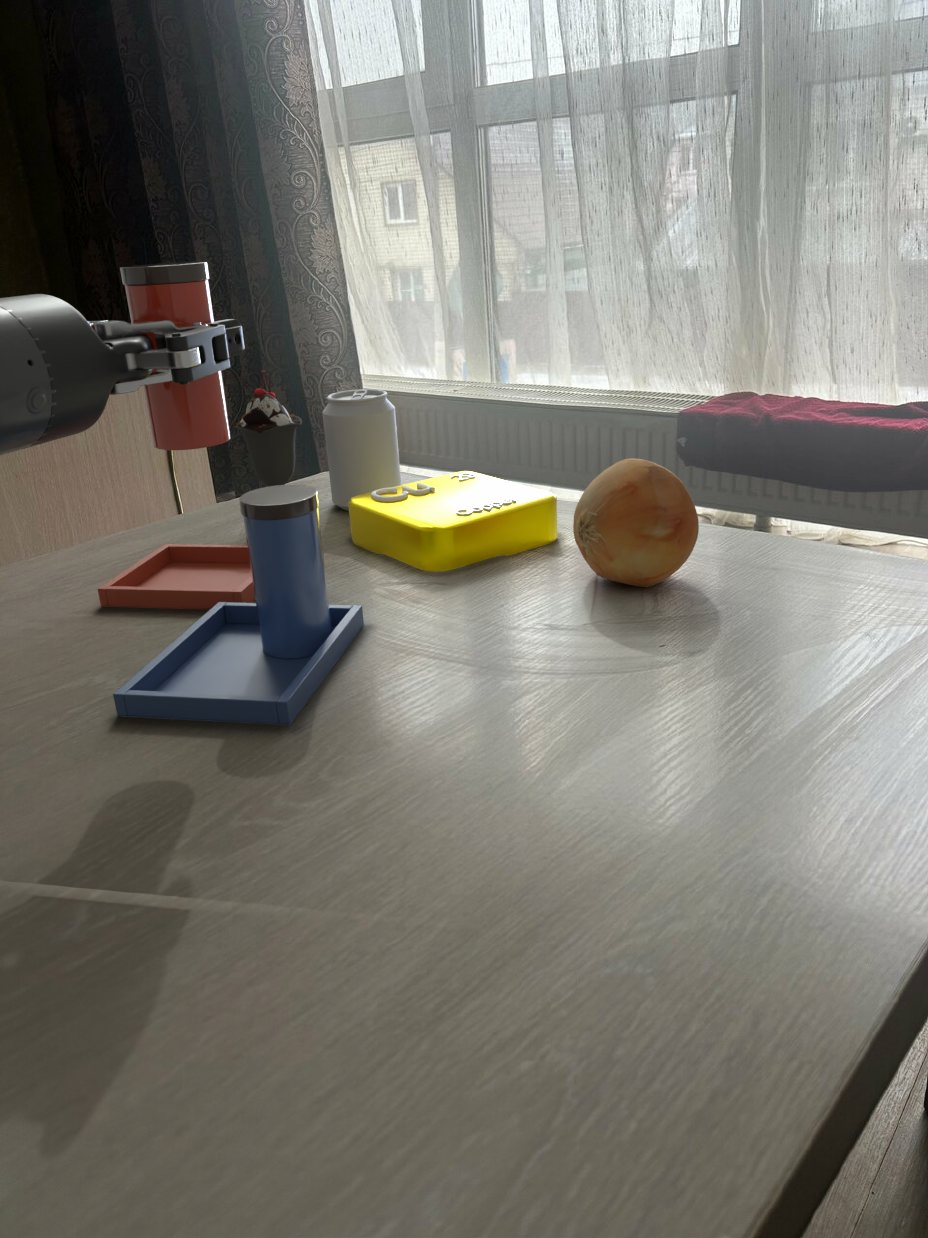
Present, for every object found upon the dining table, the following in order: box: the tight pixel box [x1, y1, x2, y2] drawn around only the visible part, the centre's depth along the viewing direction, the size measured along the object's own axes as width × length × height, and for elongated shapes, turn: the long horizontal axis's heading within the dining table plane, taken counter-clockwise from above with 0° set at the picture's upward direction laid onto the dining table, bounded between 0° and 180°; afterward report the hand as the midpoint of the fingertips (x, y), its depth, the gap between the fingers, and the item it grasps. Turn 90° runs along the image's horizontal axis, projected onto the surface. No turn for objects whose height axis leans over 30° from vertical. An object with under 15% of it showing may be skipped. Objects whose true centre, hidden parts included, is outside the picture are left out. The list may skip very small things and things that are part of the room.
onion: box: [572, 457, 700, 588], centre depth 76 cm, size 10×10×10 cm
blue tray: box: [112, 602, 365, 726], centre depth 66 cm, size 11×15×2 cm
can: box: [321, 388, 402, 512], centre depth 102 cm, size 8×8×12 cm
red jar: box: [119, 261, 232, 451], centre depth 62 cm, size 5×5×11 cm
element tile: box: [348, 470, 558, 573], centre depth 90 cm, size 15×15×5 cm
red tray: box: [97, 543, 256, 610], centre depth 82 cm, size 12×11×2 cm
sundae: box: [234, 369, 303, 487], centre depth 98 cm, size 7×7×15 cm
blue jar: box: [238, 484, 332, 659], centre depth 67 cm, size 5×5×11 cm
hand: (202, 336), depth 63 cm, fingers closed on red jar, 5 cm apart
